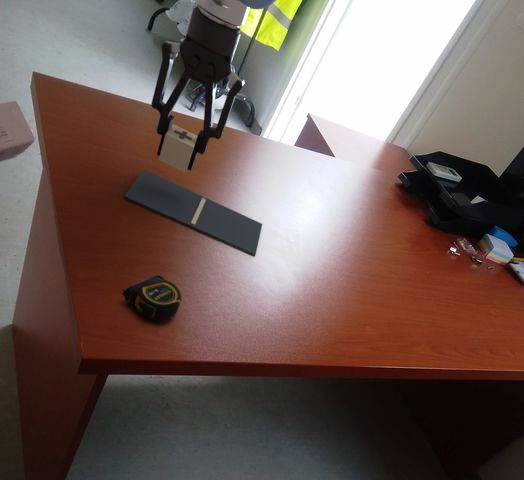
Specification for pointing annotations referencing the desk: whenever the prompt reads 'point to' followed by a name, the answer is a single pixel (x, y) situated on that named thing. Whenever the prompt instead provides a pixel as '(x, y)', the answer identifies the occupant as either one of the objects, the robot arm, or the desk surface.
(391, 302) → the desk surface
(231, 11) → the robot arm
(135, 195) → the mat
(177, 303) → the tape measure
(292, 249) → the desk surface
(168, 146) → the plus sign block
